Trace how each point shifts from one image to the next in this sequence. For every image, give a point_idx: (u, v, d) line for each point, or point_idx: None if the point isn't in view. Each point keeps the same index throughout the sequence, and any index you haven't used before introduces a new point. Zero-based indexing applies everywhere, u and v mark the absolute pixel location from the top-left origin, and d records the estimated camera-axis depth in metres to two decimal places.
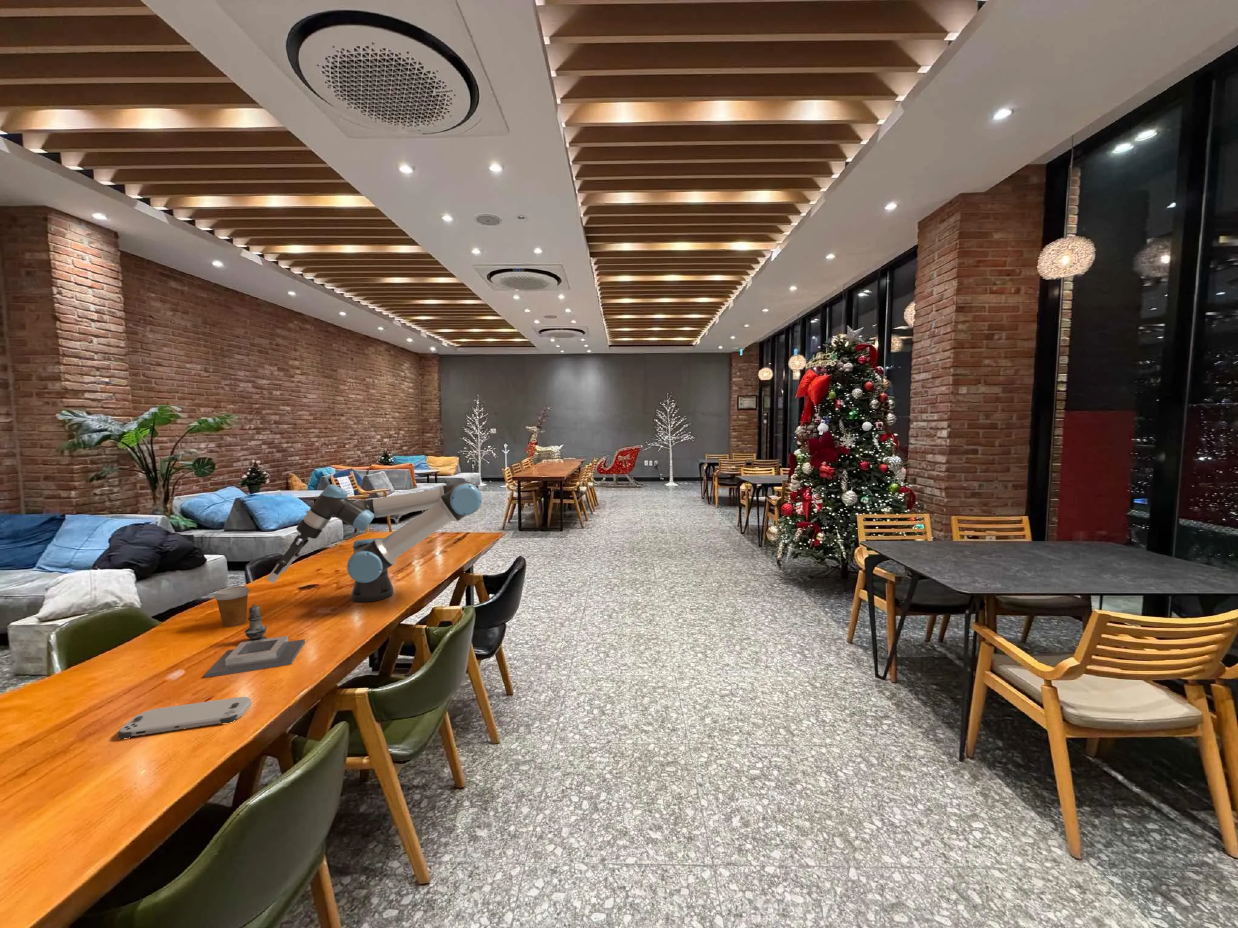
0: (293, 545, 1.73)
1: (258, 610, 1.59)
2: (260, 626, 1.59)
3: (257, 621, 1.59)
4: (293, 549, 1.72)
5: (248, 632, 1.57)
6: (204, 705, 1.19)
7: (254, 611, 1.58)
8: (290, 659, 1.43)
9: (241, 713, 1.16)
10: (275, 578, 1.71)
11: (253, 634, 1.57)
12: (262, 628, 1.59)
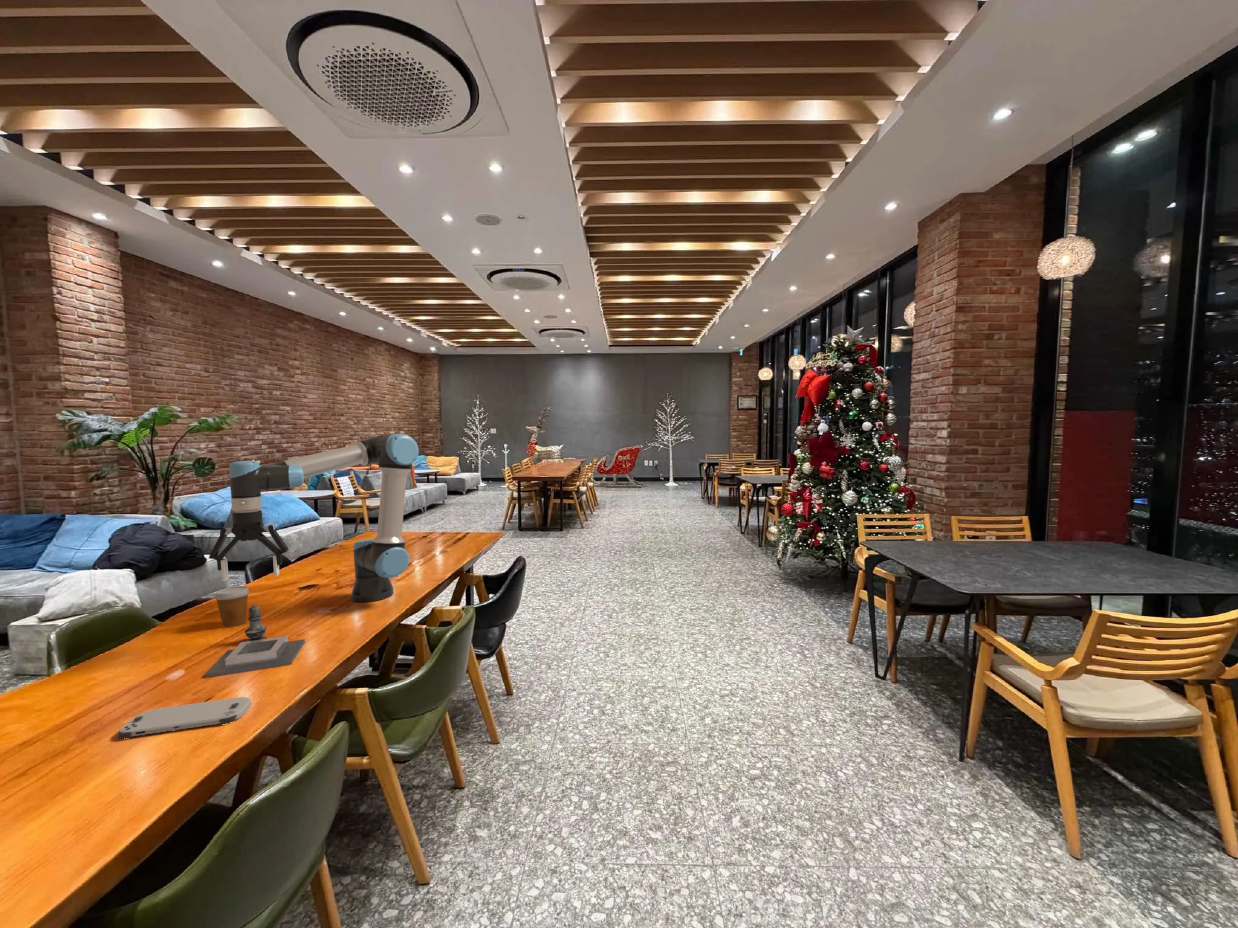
0: (275, 532, 1.59)
1: (258, 610, 1.59)
2: (260, 626, 1.59)
3: (257, 621, 1.59)
4: (277, 535, 1.60)
5: (248, 632, 1.57)
6: (204, 705, 1.19)
7: (254, 611, 1.58)
8: (290, 659, 1.43)
9: (240, 713, 1.16)
10: (278, 569, 1.62)
11: (253, 634, 1.57)
12: (262, 628, 1.59)
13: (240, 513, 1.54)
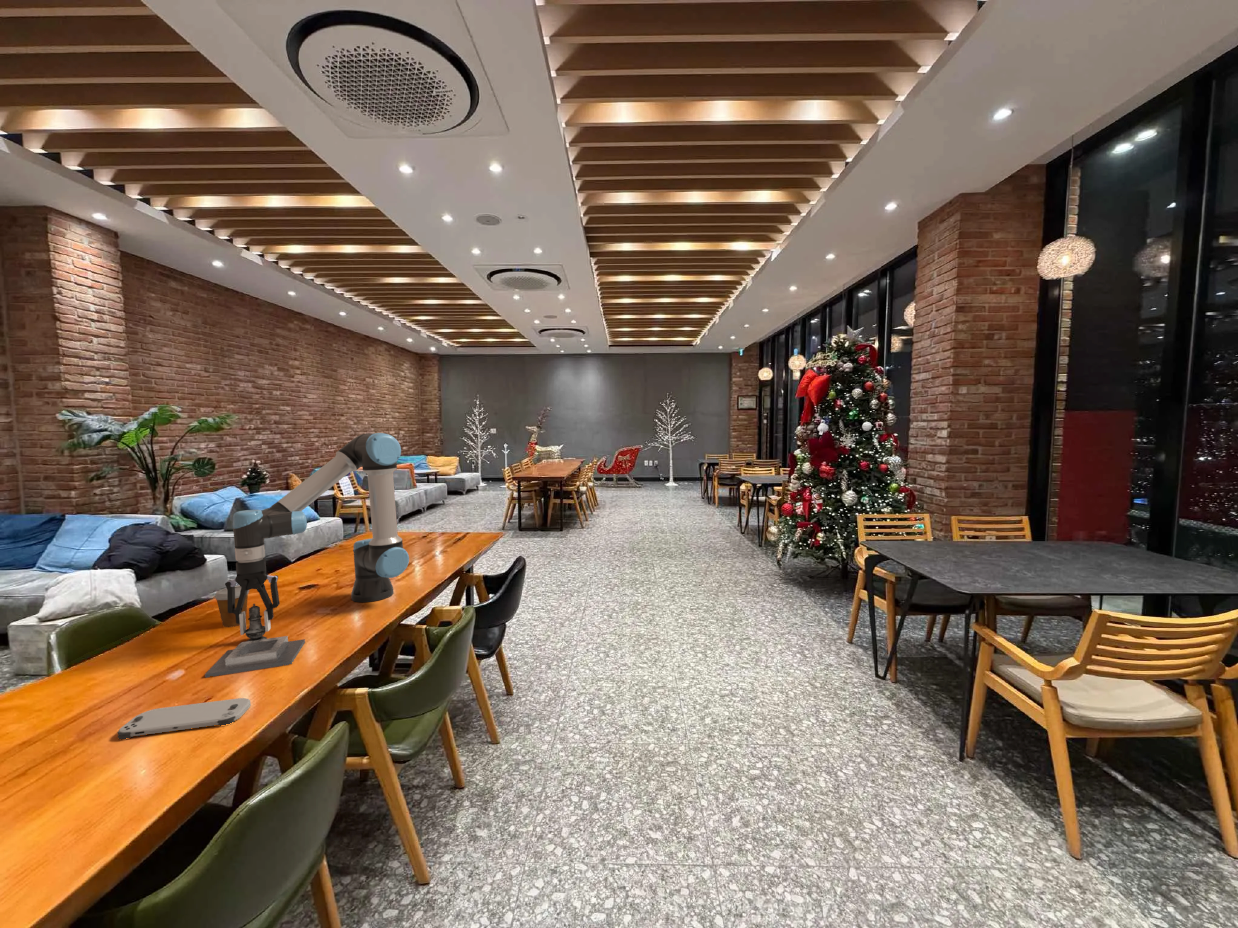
0: (275, 585, 1.60)
1: (258, 610, 1.59)
2: (260, 626, 1.59)
3: (257, 621, 1.59)
4: (276, 588, 1.61)
5: (248, 632, 1.57)
6: (204, 706, 1.18)
7: (254, 611, 1.58)
8: (290, 659, 1.43)
9: (239, 715, 1.15)
10: None
11: (253, 634, 1.57)
12: (262, 628, 1.59)
13: (244, 563, 1.55)
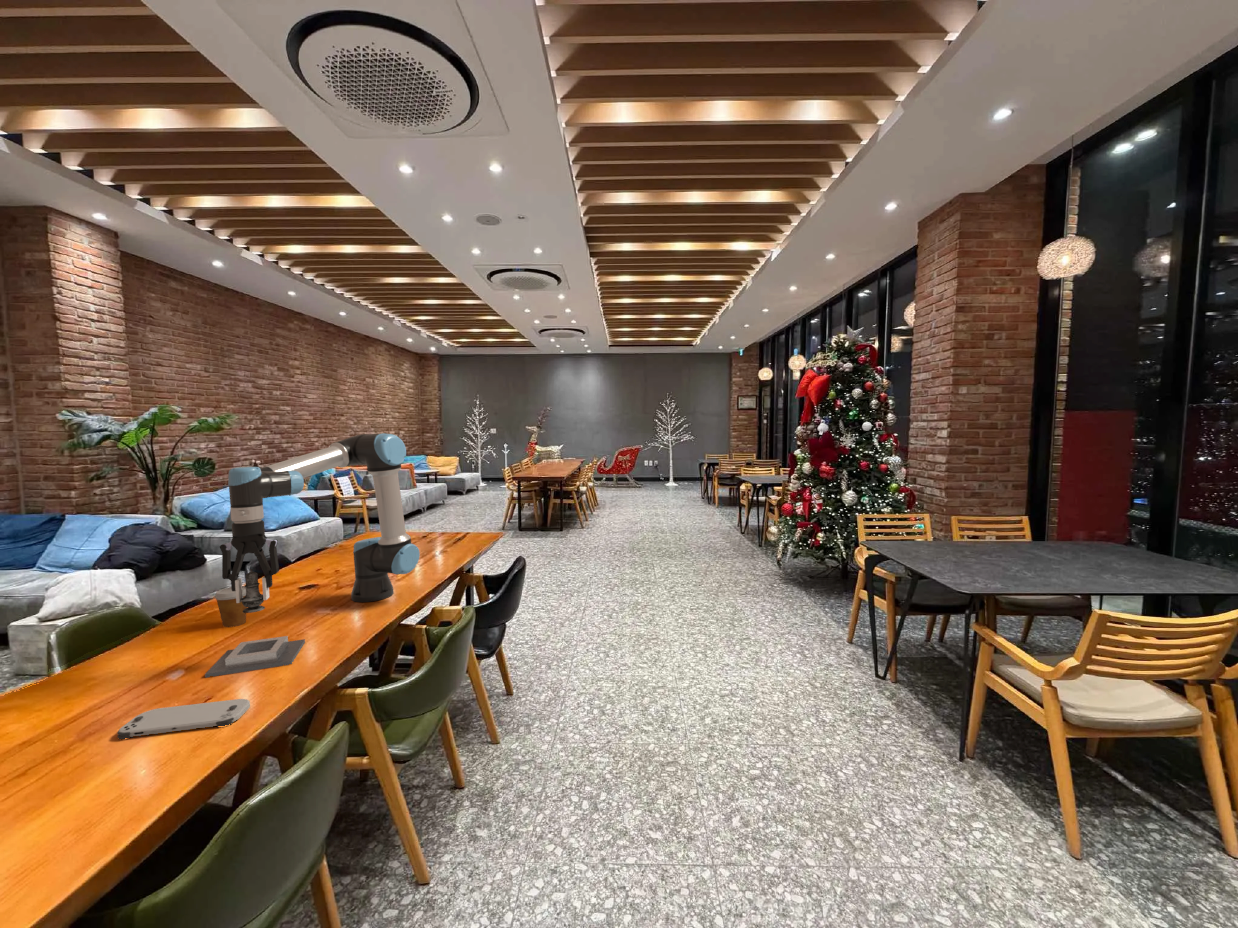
0: (274, 549, 1.47)
1: (256, 576, 1.46)
2: (258, 594, 1.46)
3: (254, 588, 1.45)
4: (276, 553, 1.48)
5: (244, 600, 1.43)
6: (203, 706, 1.18)
7: (251, 577, 1.45)
8: (290, 659, 1.43)
9: (238, 716, 1.15)
10: (268, 592, 1.48)
11: (250, 602, 1.44)
12: (260, 596, 1.46)
13: (240, 524, 1.41)
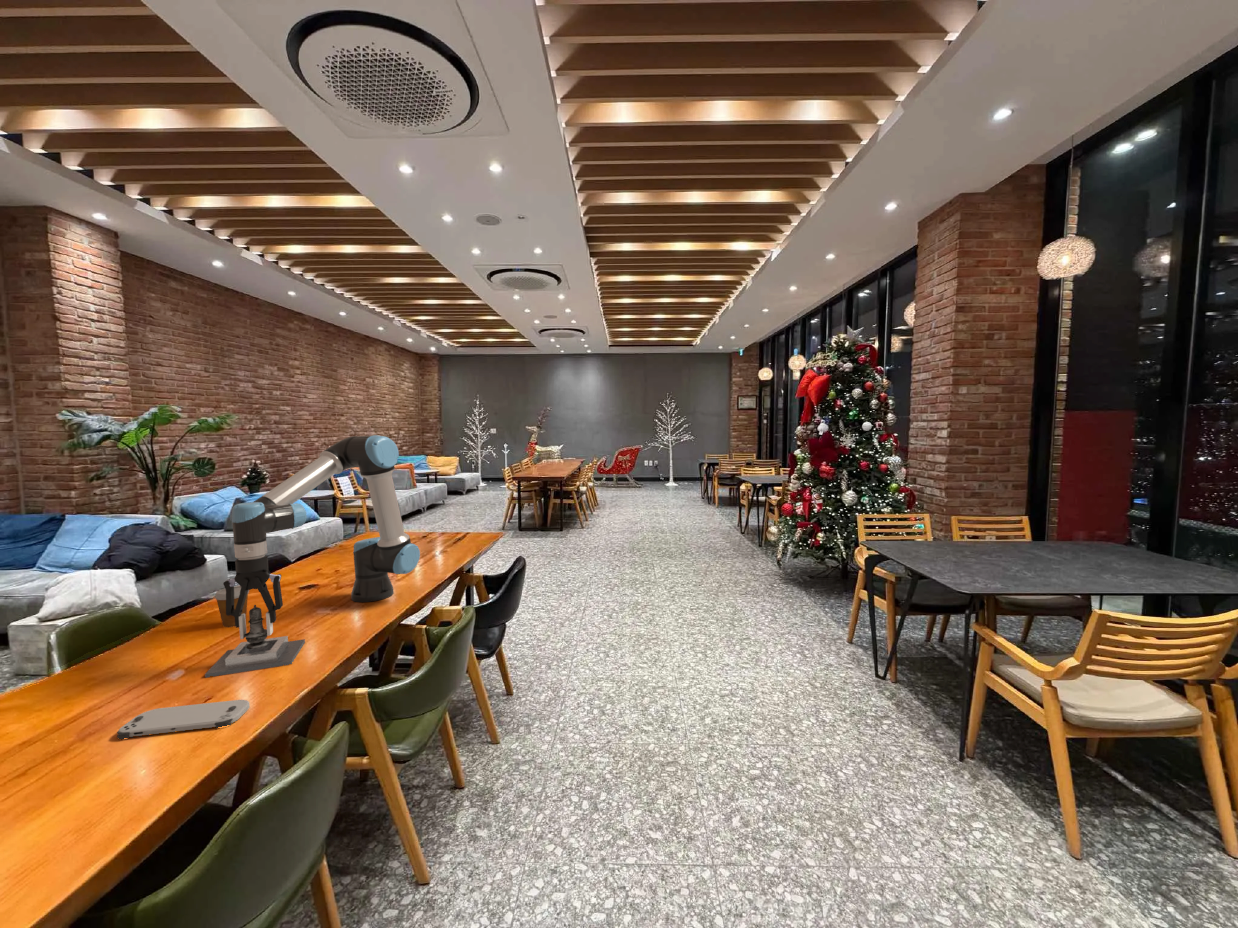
0: (278, 585, 1.47)
1: (259, 612, 1.45)
2: (261, 629, 1.46)
3: (258, 624, 1.45)
4: (279, 588, 1.48)
5: (248, 636, 1.43)
6: (203, 707, 1.18)
7: (255, 613, 1.44)
8: (290, 659, 1.43)
9: (237, 717, 1.14)
10: (272, 626, 1.48)
11: (254, 638, 1.44)
12: (264, 632, 1.46)
13: (244, 560, 1.41)
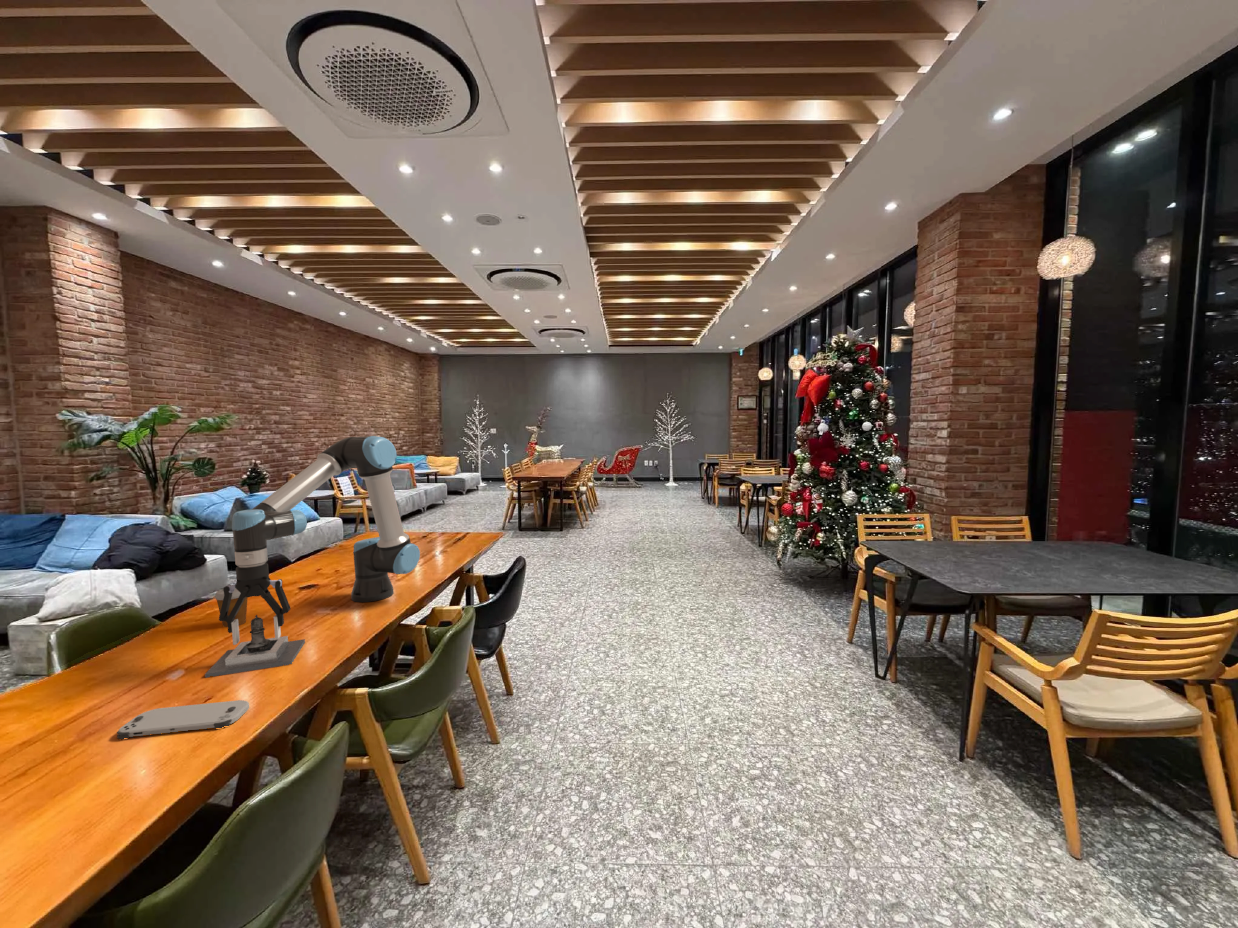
0: (280, 589, 1.47)
1: (261, 622, 1.46)
2: (263, 640, 1.46)
3: (259, 634, 1.45)
4: (283, 592, 1.48)
5: (250, 646, 1.44)
6: (203, 707, 1.18)
7: (257, 623, 1.45)
8: (290, 659, 1.43)
9: (236, 718, 1.14)
10: (280, 630, 1.49)
11: (256, 648, 1.44)
12: (265, 642, 1.46)
13: (244, 568, 1.41)
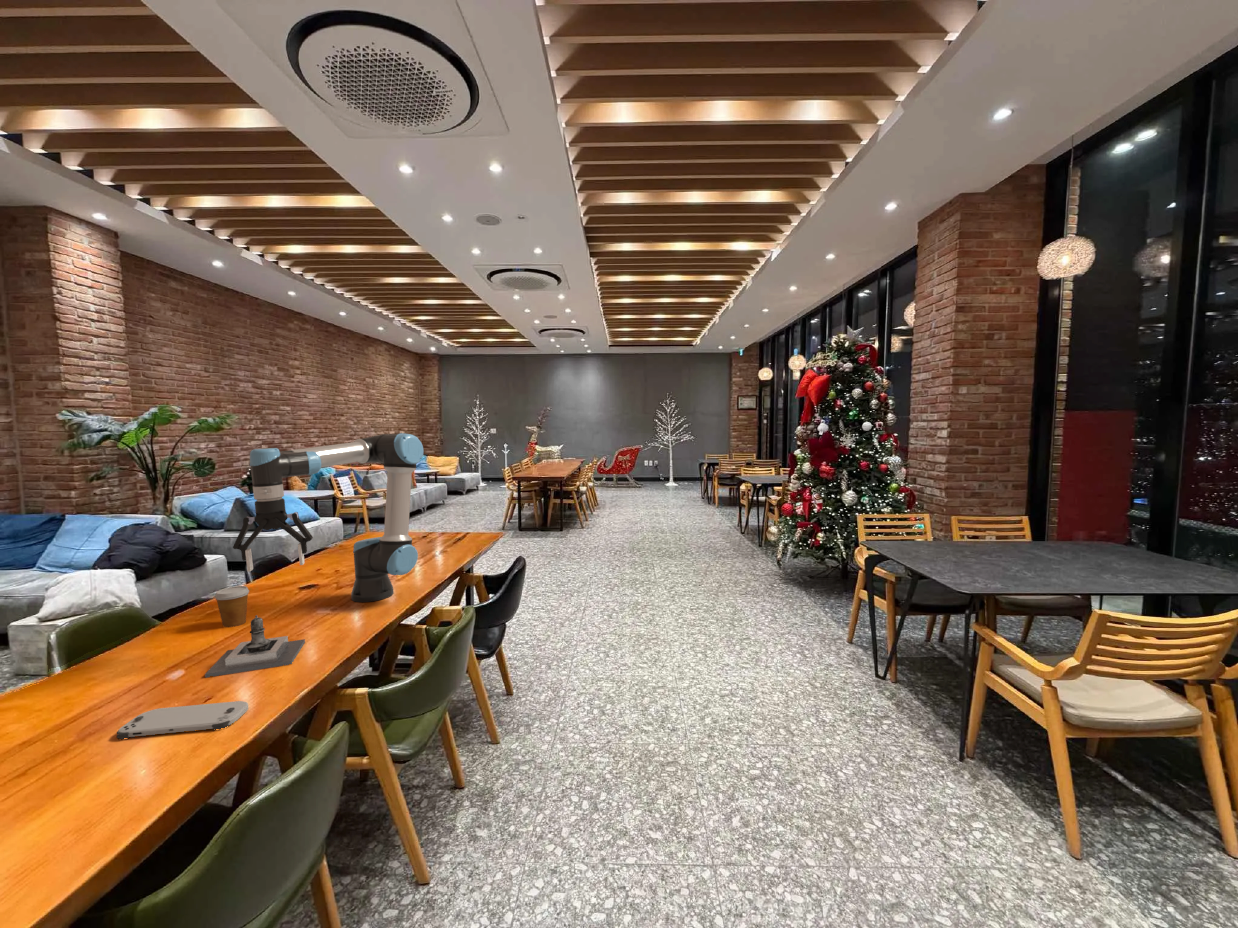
0: (298, 520, 1.56)
1: (261, 622, 1.46)
2: (263, 640, 1.46)
3: (259, 634, 1.45)
4: (301, 523, 1.57)
5: (250, 646, 1.44)
6: (203, 708, 1.18)
7: (257, 623, 1.45)
8: (290, 659, 1.43)
9: (234, 719, 1.14)
10: (303, 557, 1.59)
11: (256, 648, 1.44)
12: (265, 642, 1.46)
13: (263, 502, 1.50)
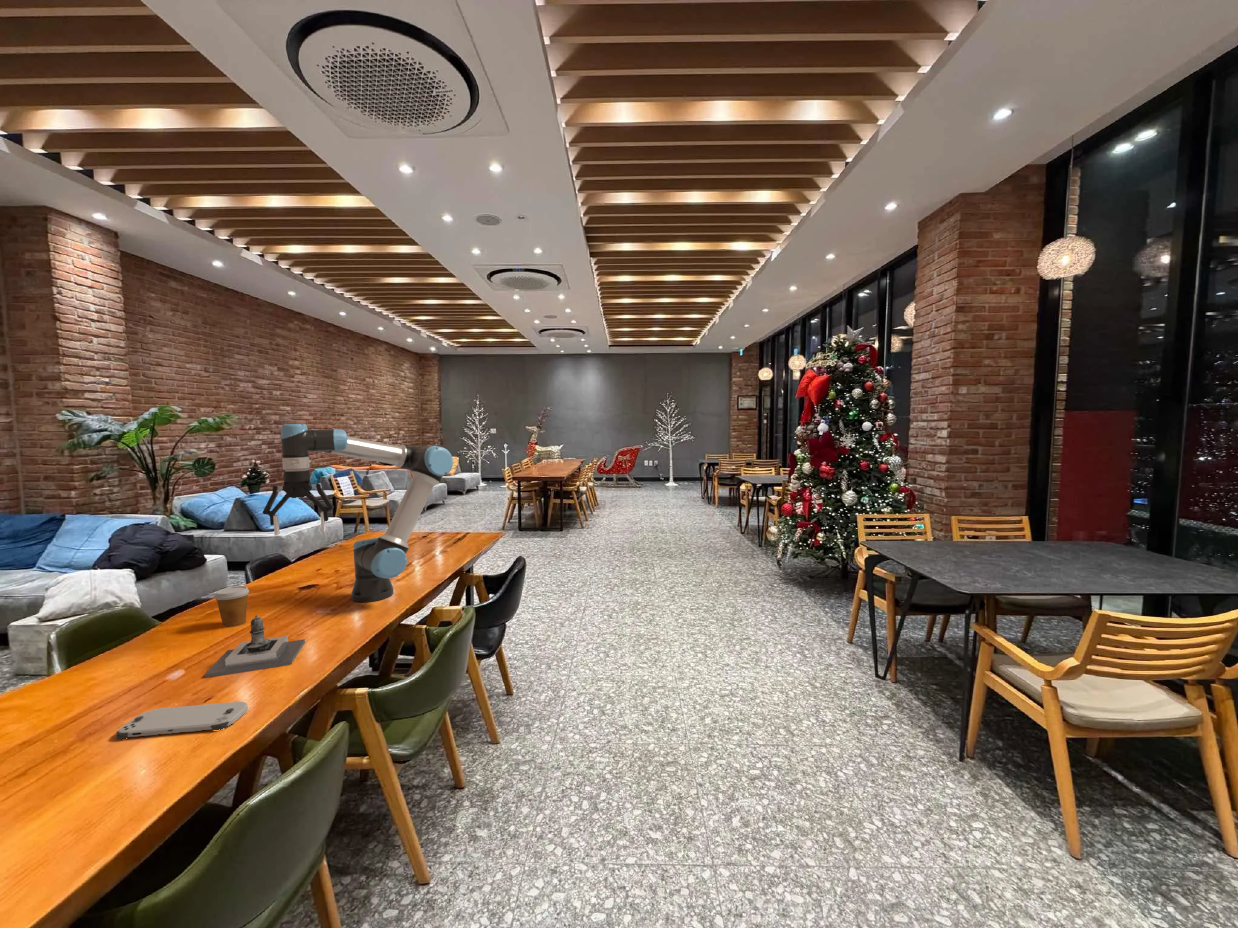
0: (322, 490, 1.71)
1: (261, 622, 1.46)
2: (263, 640, 1.46)
3: (259, 634, 1.45)
4: (324, 493, 1.72)
5: (250, 646, 1.44)
6: (202, 708, 1.17)
7: (257, 623, 1.45)
8: (290, 659, 1.43)
9: (233, 720, 1.13)
10: None
11: (256, 648, 1.44)
12: (265, 642, 1.46)
13: (291, 471, 1.65)
